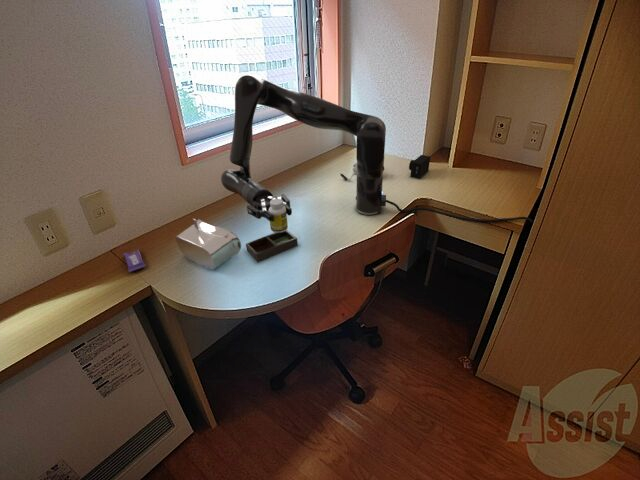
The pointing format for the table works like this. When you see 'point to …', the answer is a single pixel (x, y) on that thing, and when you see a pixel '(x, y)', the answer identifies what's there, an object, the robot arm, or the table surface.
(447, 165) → the table surface
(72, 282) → the table surface
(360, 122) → the robot arm
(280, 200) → the supplement bottle
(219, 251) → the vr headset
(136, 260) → the snack package
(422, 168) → the digital camera
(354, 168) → the clip-on lamp
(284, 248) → the divided box
